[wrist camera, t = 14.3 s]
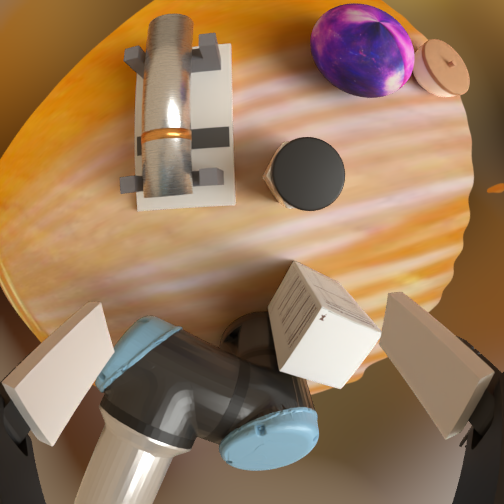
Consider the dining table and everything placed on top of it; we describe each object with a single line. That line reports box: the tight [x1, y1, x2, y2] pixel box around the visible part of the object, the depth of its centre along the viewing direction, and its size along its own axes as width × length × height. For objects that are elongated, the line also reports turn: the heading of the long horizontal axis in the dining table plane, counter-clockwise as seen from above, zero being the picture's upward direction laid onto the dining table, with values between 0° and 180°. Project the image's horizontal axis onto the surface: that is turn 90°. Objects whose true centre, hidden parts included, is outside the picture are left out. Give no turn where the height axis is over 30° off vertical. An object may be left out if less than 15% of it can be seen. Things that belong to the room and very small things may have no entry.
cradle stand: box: [120, 33, 236, 211], centre depth 32 cm, size 26×15×10 cm, turn 2°
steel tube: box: [141, 14, 193, 198], centre depth 28 cm, size 24×6×6 cm, turn 2°
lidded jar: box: [413, 39, 470, 97], centre depth 30 cm, size 11×11×9 cm
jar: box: [262, 137, 345, 211], centre depth 34 cm, size 9×8×12 cm
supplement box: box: [268, 261, 382, 389], centre depth 36 cm, size 10×9×17 cm
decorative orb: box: [310, 4, 415, 98], centre depth 28 cm, size 15×15×15 cm
